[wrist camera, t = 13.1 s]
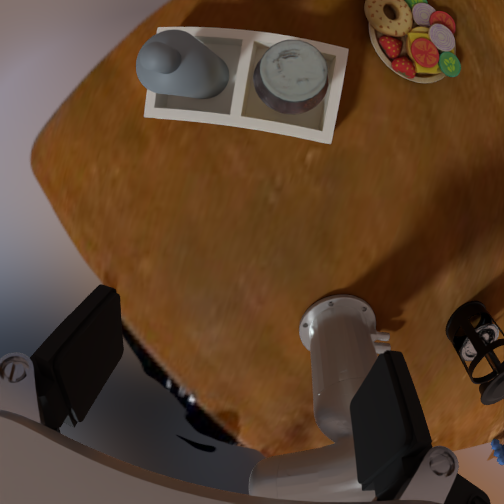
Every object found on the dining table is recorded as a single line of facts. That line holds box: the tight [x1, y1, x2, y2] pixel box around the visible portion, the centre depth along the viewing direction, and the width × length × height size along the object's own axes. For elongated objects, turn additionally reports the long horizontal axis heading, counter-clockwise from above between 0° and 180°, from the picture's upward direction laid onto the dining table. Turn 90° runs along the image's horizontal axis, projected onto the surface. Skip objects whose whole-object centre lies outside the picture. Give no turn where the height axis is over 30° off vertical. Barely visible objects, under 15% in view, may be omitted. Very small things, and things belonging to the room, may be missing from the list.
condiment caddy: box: [136, 27, 349, 144], centre depth 26 cm, size 22×12×17 cm, turn 81°
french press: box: [446, 301, 504, 405], centre depth 35 cm, size 12×9×23 cm
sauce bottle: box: [253, 39, 329, 115], centre depth 24 cm, size 7×6×20 cm
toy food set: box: [364, 0, 461, 83], centre depth 27 cm, size 13×13×3 cm
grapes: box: [491, 439, 504, 465], centre depth 61 cm, size 12×7×12 cm, turn 50°
